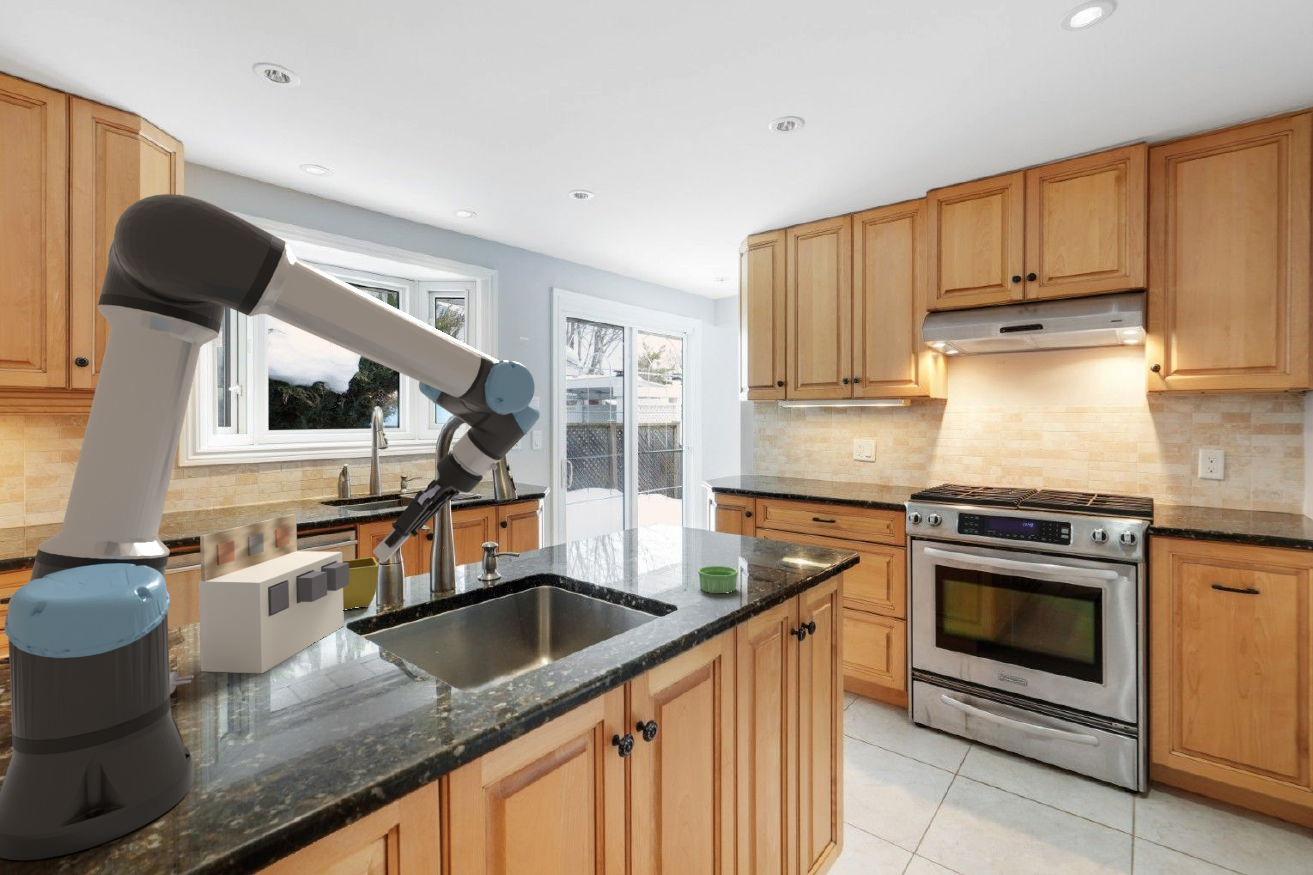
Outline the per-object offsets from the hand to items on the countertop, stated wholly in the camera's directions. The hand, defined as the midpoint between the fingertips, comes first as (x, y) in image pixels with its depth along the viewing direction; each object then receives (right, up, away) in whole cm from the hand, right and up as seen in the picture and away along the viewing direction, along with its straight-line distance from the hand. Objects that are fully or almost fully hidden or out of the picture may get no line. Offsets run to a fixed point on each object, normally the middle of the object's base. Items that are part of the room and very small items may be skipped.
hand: (379, 555), depth 109 cm
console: (-15, -14, -5) cm, 21 cm away
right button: (-8, -6, +1) cm, 10 cm away
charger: (-23, -16, -26) cm, 38 cm away
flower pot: (-13, -14, +17) cm, 25 cm away
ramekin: (+63, -14, +29) cm, 71 cm away
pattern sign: (-19, 0, -5) cm, 20 cm away
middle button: (-9, -6, -6) cm, 12 cm away
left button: (-12, -6, -12) cm, 18 cm away
